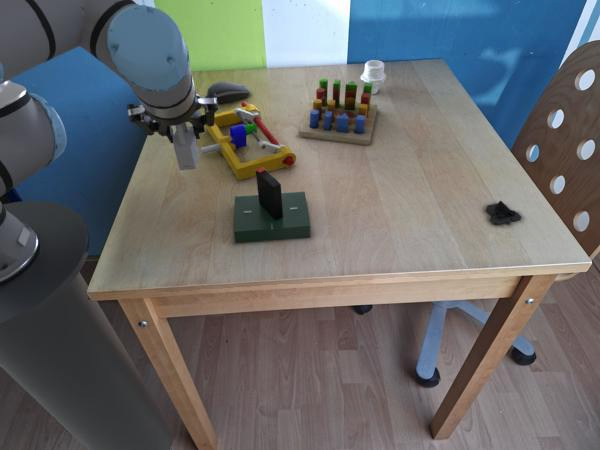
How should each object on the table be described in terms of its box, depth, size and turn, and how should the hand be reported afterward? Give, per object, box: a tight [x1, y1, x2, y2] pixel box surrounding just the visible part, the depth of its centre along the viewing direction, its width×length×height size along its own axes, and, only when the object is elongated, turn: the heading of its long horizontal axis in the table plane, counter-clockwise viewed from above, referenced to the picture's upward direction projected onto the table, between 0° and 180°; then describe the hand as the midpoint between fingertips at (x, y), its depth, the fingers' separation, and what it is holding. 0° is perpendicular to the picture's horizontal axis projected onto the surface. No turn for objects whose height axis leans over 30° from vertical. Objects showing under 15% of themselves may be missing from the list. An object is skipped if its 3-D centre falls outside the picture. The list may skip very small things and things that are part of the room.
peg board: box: [298, 77, 378, 146], centre depth 106 cm, size 18×17×9 cm
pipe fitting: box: [360, 59, 387, 95], centre depth 118 cm, size 6×7×8 cm
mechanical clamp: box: [200, 101, 297, 181], centre depth 100 cm, size 18×6×30 cm
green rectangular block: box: [233, 191, 311, 244], centre depth 82 cm, size 14×10×3 cm
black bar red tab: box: [255, 167, 283, 220], centre depth 78 cm, size 6×2×8 cm, turn 35°
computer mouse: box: [205, 80, 250, 104], centre depth 119 cm, size 7×12×4 cm, turn 112°
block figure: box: [485, 200, 522, 226], centre depth 82 cm, size 6×2×6 cm
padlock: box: [172, 122, 201, 171], centre depth 76 cm, size 7×4×10 cm, turn 8°
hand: (184, 134), depth 80 cm, fingers closed on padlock, 4 cm apart
